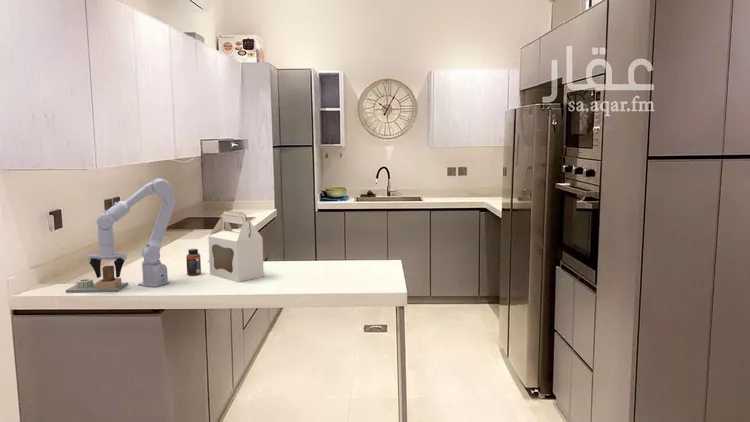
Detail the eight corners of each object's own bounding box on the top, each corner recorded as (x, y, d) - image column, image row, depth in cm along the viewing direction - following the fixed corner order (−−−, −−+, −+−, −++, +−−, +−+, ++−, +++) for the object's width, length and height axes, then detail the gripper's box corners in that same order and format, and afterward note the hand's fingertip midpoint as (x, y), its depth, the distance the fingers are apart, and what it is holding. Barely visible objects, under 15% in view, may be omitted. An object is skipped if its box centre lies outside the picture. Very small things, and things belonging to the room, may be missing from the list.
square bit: (115, 284, 231) (113, 265, 230) (111, 286, 228) (110, 267, 227) (107, 284, 231) (105, 265, 230) (103, 286, 228) (102, 267, 227)
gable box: (209, 274, 253) (206, 212, 250) (234, 269, 263) (232, 209, 260) (238, 282, 239) (236, 216, 235) (264, 276, 248) (262, 213, 245)
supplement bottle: (202, 274, 252) (201, 249, 251) (188, 276, 249) (187, 251, 248) (199, 272, 257) (198, 247, 256) (185, 273, 254) (184, 248, 253)
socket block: (128, 284, 235) (127, 276, 235) (117, 291, 224) (117, 283, 224) (79, 285, 234) (78, 277, 234) (65, 292, 224) (65, 283, 223)
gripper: (83, 245, 223) (85, 279, 225) (120, 245, 224) (122, 279, 225) (91, 242, 230) (93, 275, 232) (127, 242, 231) (129, 275, 232)
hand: (108, 277), depth 229 cm, fingers open, 7 cm apart
